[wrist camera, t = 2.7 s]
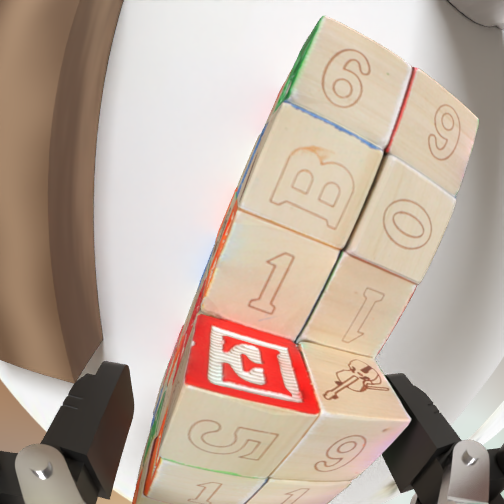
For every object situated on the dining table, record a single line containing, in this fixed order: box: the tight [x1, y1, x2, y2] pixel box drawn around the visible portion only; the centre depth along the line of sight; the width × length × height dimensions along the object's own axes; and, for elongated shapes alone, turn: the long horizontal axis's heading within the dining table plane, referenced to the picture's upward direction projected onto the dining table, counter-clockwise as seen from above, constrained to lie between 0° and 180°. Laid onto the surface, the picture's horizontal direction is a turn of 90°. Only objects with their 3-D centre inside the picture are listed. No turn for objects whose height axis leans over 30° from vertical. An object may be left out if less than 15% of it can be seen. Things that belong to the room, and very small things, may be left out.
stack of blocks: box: [132, 16, 479, 504], centre depth 12 cm, size 21×6×12 cm, turn 157°
